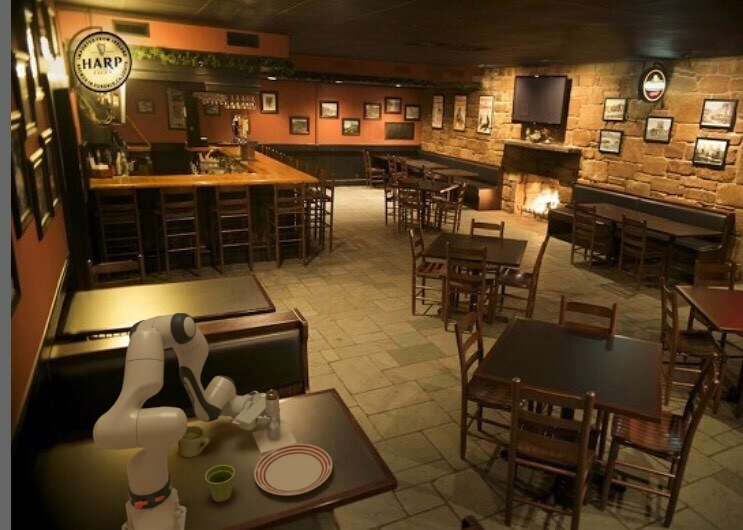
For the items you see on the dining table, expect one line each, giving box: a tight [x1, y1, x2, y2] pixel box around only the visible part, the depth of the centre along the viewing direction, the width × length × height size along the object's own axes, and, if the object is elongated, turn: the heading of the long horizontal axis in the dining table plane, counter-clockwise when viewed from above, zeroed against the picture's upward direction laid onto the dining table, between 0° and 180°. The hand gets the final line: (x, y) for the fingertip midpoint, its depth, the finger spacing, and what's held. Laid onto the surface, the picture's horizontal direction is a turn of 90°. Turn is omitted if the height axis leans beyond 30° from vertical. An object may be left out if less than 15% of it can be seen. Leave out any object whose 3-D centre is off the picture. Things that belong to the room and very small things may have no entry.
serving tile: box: [252, 423, 298, 456], centre depth 199 cm, size 14×14×1 cm
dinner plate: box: [253, 443, 333, 497], centre depth 181 cm, size 27×27×3 cm
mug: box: [177, 425, 211, 458], centre depth 191 cm, size 12×10×10 cm
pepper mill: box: [265, 388, 281, 438], centre depth 196 cm, size 5×5×20 cm
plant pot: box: [204, 464, 235, 503], centre depth 169 cm, size 9×9×9 cm
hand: (275, 415), depth 196 cm, fingers closed on pepper mill, 5 cm apart
